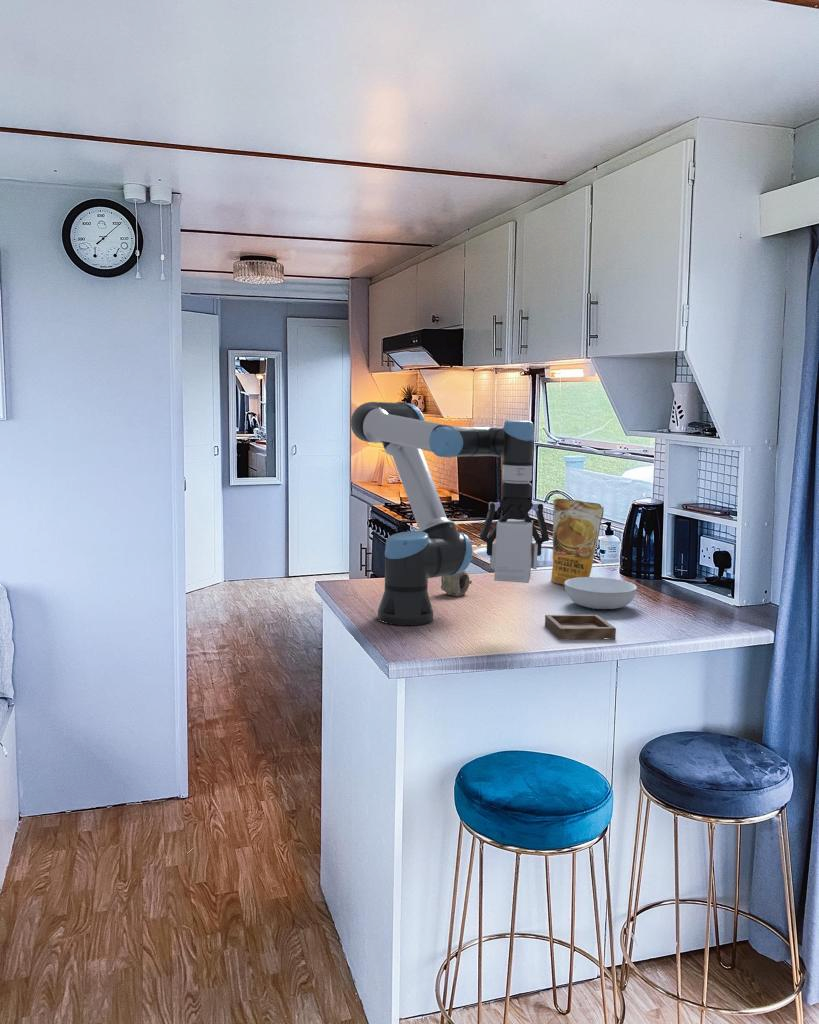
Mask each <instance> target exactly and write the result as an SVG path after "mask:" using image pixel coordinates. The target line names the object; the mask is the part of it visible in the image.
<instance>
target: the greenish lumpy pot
mask: <svg viewBox="0 0 819 1024" xmlns="http://www.w3.org/2000/svg"><path fill="white" fill-rule="evenodd" d="M440 577H441V578H440V582H441V585H440V589H441V591H443V592H445V593H446V594H447V595H448V596H455V597H461V596H464V595H466V593H467V591H468V589H469V587H470V585H471V584H472V583H473V581H472V580H470V576H469V573H468V572H467V570H464V571H463V572H461V573H458V574H454V575H452V576H448V575H447V576H440Z"/></svg>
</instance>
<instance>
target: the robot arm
mask: <svg viewBox="0 0 819 1024" xmlns="http://www.w3.org/2000/svg"><path fill="white" fill-rule="evenodd" d="M503 425H504V426H503V427H498V426H497V427H495V426H487V425H479V426H454V425H448V424H442V423H439V422H438V423H437V422H432V421H427V420H425V416H424V414H423V412H422V411H421V410H420V408H419V407H417V406H416V405H415V404H413V403H408V402H403V401H398V402H397V401H396V402H388V401H387V402H383V401H378V402H377V401H369V402H364V403H363V404H360V405H359V406H358V407H356V408H355V410H354V411H353V412H352V414H351V418H350V428H351V431H352V432H353V434H354V436H355V437H356V438H358V439H359V440H361V441H363V442H365V443H366V442H367V443H373V444H378V443H381V444H382V446H383V448H384V451H385V454H387V455H389V456H391V457H392V458H393V461H394V465H395V467H396V470H397V472H398V475H399V478H400V480H401V483H402V486H403V489H404V491H405V492H404V493H405V494H406V497H407V500H408V502H409V505H410V508H411V511H412V514H413V516H414V519H415V522H416V525H417V528H418V530H410V531H401V532H397V533H394V534H392V535H390V536H388V537H387V539H386V541H385V550H384V591H383V594H382V597H381V600H380V603H379V607H378V609H377V620H378V619H379V620H381V621H384V622H387V623H392V624H391V625H393V624H398V625H397V626H404V625H411V626H419V625H420V626H421V625H427V624H430V623H432V622H433V621H434V609H433V606H432V602H431V599H430V596H429V592H428V587H429V586H428V584H429V583H428V581H429V579H432V578H433V579H434V578H439V577H442V576H447V575H448V576H452V575H454V574H458V573H461V572H463V571H464V570H465V571H467V569H468V568H469V566H470V563H471V560H472V558H473V545H472V541H471V539H470V537H469V536H468V535H467V534H465V532H462V531H458V529H457V525H456V523H455V522H454V521H453V520H451V519H448V518H447V515H446V512H445V509H444V506H443V503H442V501H441V499H440V496H439V493H438V490H437V487H436V485H435V483H434V479H433V477H432V474H431V471H430V469H429V466H428V463H427V459H426V458H425V455H424V453H423V451H427V452H431V453H433V454H434V456H436V457H438V458H439V457H441V458H449V459H450V458H456V457H461V458H462V457H498V458H499V457H501V458H502V474H501V479H502V480H503V482H502V483H501V492H500V493H501V494H500V495H501V496H500V500H499V502H493V501H489V502H488V505H487V506H488V511H487V515H486V517H485V520H484V524H483V526H482V529H481V533H480V535H479V539H480V540H481V541H482V542H485V543H486V555H487V556H489V558H490V559H489V568H490V569H491V570H495V551H496V542H494V541H496V530H497V523H498V521H499V522H506V521H507V520H508V519H513V520H515V519H517V520H524V521H526V522H530V523H532V521H533V520H532V519H531V517H530V515H529V512H530V510H532V509H533V511H534V512H535V515H536V518H537V523H538V527H539V530H540V534H539V532H538V531H537V528H536V527H535V525H534V522H533V523H532V526H533V531H532V533H533V536H532V539H534V541H535V542H533V541H532V557H531V569H532V570H537V568H538V567H537V566H538V557H541V555H542V545H543V544H544V542H549V541H550V538H549V537H550V536H549V533H548V529H547V525H546V521H545V516H544V504H543V503H542V502H541V503H540V502H532V490H533V489H532V486H533V484H532V483H531V481H532V480H533V464H534V463H533V455H534V444H535V443H534V442H535V428H534V427H535V425H534V423H533V422H532V421H531V420H517V419H516V420H514V419H513V420H511V419H509V420H505V421H504V423H503ZM499 508H500V509H501V511H502V513H501V514H500V516H499V519H498V521H496V523H495V525H494V527H493V528H492V530H491V531H490V529H491V526H492V523H493V520H494V517H495V515H496V514H495V513H496V512H497V511H498V509H499ZM489 532H490V533H489ZM540 535H541V536H540ZM379 620H378V621H379ZM381 621H380V622H381ZM384 622H383V623H384ZM387 623H386V624H387Z"/></svg>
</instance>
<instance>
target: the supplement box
mask: <svg viewBox="0 0 819 1024" xmlns="http://www.w3.org/2000/svg"><path fill="white" fill-rule="evenodd" d="M531 521H532V523H533V524H534V520H531ZM497 522H498V523H497ZM497 522H496V523H497V530H496V538H495V544H496V551H495V569H494V575H493V576H494V577H493V579H494V580H493V581H495V582H506V583H507V582H508V583H509V582H510V583H522V584H529V583H530V580H531V575H532V573H531V572H532V571H531V570H532V568H531V559H532V542H533V533H532V531H533V526H532V523H530V522H526V521H524V519H510V518H508V520H507V521H506V522H499V521H497Z"/></svg>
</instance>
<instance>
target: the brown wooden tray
mask: <svg viewBox="0 0 819 1024" xmlns="http://www.w3.org/2000/svg"><path fill="white" fill-rule="evenodd" d="M544 626H545V627H546V628H547V629H548V630H549V631H550V632H551V633H552V634H553V635H555V637H556V638H558V640H560V639H569V640H605V639H604V638H615V639H616V637H617V636H616V635H617V632H616V631H617V628H616V627H615V626H614V625H612V624H611V623H609V622H608V621H607V620H605V619H604V618H603V617H602V616H600V615H599V614H545V616H544Z"/></svg>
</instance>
